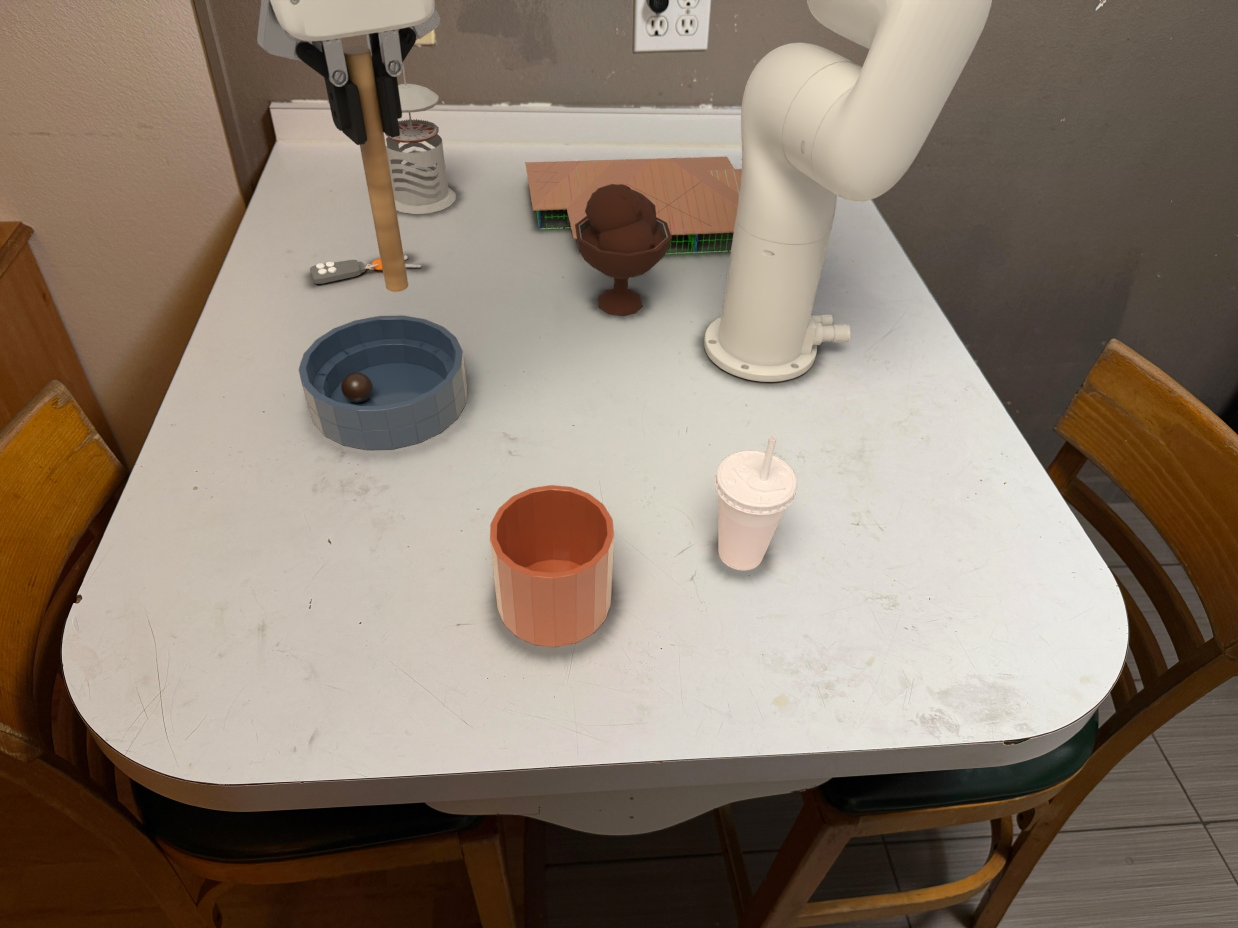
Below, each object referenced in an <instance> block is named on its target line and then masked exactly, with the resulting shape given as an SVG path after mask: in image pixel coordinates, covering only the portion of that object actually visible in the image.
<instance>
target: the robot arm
mask: <svg viewBox="0 0 1238 928" xmlns="http://www.w3.org/2000/svg"><path fill="white" fill-rule="evenodd" d="M992 3H993V0H806V4H807V7H808V10H809V12H810V13H811V15H812V16H813V17H814V18H815V20H816V21H817V22H818V23H819V24H821V25H822V26H824V27H825V28H826V29H828V30H830V31H832V32H833V33H835V34H836V35H839V36H841V37H843V38H845V39H847V40H849V41H851V42H853V43H855V44H857V45H859V46H861V47H864V48H865V49H867V50H868V52H867V55H866V58H865V60H864V62H863V65H860V64H859V63H856V62H854V61H852V60H850V59H848V58H847V57H844V56H843V55H841V54H838V53H836V52H834V51H832V50H830V49H828V48H827V47H823V46H820V45H817V44H815V43H808V42H789V43H786V44H783V45H781V46H778V47H776V48H774V49H772V50H771V51H769V52H768V53H767V54H765V55H764V56H763V57H762V58H761V59H760V60H759V61H758V62H757V63H756V65H755V67H754V68H753V69H752V71H751V73H750V75H749V76H748V79H747V81H746V84H745V88H744V90H743V95H742V100H741V106H740V107H741V108H740V137H741V169H742V173H741V185H740V193H739V201H738V208H737V215H736V220H735V227H734V233H732V239H731V240H732V241H731V247H730V255H729V262H728V269H727V275H726V283H725V289H724V296H723V303H722V310H721V316H719V317H718V318H715V319H714V320H713V321H711V322H710V323H709V324H708V326H707V327H706V330H705V333H704V338H703V339H704V340H703V346H704V351H705V353H706V355H707V357H708V358H709V359H710V360H711V361H712V363H714V364H715V365H716V366H717V367H718V368H720V369H722V370H723V371H725V372H726V373H728V374H730V375H733V376H735V377H737V378H740V379H744V380H747V381H752V382H753V381H754V382H759V383H760V382H762V383H777V382H778V383H779V382H785V381H789V380H793V379H795V378H798V377H800V376H801V375H804V374H805V373H807V372H808V371H809V370H810V369H811V368H812V367H813V365H814V363H815V361H816V357H817V353H818V346H820V345H822V343H823V342H831V343H848V342H849V341H850V339H851V327H850V325H849V324H848V323H847V324H846V323H843V324H833V322H834V317H833V315H832V314H816V315H815V314H813V313H812V312H813V308H814V304H815V299H816V296H817V291H818V287H819V283H820V278H821V274H822V271H823V270H822V269H823V266H824V262H825V261H824V260H825V258H826V257H825V256H826V253H827V249H828V244H829V240H830V235H831V232H832V228H833V224H834V219H835V215H836V209H837V197H840V198H842V199H844V200H847V201H851V202H867V201H871V200H874V199H876V198H879V197H880V196H883V195H884V194H886V193H887V192H888V191H890V190H891V189H892V188H893V187H894V186H895V185H896V184H897V183H898V182H899V181H900V180H901V179H902V178H903V176H904V175H905V174H906V173H907V172H908V170H909V169H910V167H911V165H913V163H914V161H915V159H916V158H917V156H918V154H919V153H920V152H921V149H922V147H923V146H924V144H925V142H926V140H927V138H928V137H929V135H930V133H931V131H932V129H933V127H934V125H935V123H936V122H937V120H938V118H939V116H940V114H941V112H942V110H943V108H944V106H945V104H946V103H947V100H948V98H949V97H950V95H951V93H952V91H953V89H954V87H955V85H956V83H957V82H958V80H959V78H960V76H961V74H962V72H963V70H964V68H965V66H966V64H967V63H968V61H969V59H970V57H971V55H972V54H973V52H974V50H975V47H976V46H977V42H978V41H979V39H980V37H981V35H982V32H983V30H984V28H985V25H986V24H987V21H988V19H989V15H990V11H991V8H992ZM259 10H260V11H259V19H258V26H257V35H256V36H257V37H256V40H257V41H256V42H257V44H258V46H259V47H260V48H261V49H262V50H263V51H265V52H266V53H267V54H268V55H269V54H270V55H273V56H277V57H281V58H284V59H289V60H292V61H293V60H294V61H300V62H303V63H304V64H305V65H307V66H308V67H309V68H310V69H312V70H314V71H315V73H318V74H319V75H320V76H321V77H323V78H324V83H325V88H326V94H327V98H328V103H329V109H330V114H331V118H332V121H333V124H334V126H335V128H336V129H337V130H338V131H340V132H342V133H343V134H344V135H345V136H346V137H347V138H348V139H350V141H352V142H353V143H354V144H355V145H356V146H360V145H361V144H365V141H367V135H366V129H365V123H364V117H363V112H362V106H361V100H360V95H359V89H358V87H357V85H356V84H354V83H353V82H352V81H351V80H350V75H349V73H348V72H347V67H346V62H345V57H344V52H343V50H344V48H343V47H344V46H343V43H342V39H344V38H351V37H357V36H363V35H365V36H366V45H367V48H369V49H370V51H371V57H372V63H373V69H374V76H375V82H376V88H377V94H378V100H379V106H380V113H381V119H382V125H383V131H384V135H386V134H387V135H388V136H391V137H392V138H393V137H398V136H400V130H399V124H398V121H399V119H402V118H403V113H402V109H401V102H400V95H399V88H398V85H399V81H398V76H400V75H401V74H402V73H403V65H402V63H403V64H404V62H405V60H406V58H407V57H408V55H409V54H410V52H411V50H412V49H413V47H414V46H415V44H416V42H417V41H418V40H421V39H422V38H424V37H426V36H427V35H428V34H430V33H432V31H434V30H435V29H437V28H438V27H439V26H440V24H441V18H440V15H439V12H438V9H437V8H436V2H435V0H260V9H259Z"/></svg>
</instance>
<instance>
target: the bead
mask: <svg viewBox="0 0 1238 928" xmlns="http://www.w3.org/2000/svg"><path fill="white" fill-rule="evenodd" d="M341 390H342V393H343V395H344V396H345V398H346V399H348V400H349V401H351V402H355V403H360V402H363V401H365V400H367V399H368V398H369V397H370V396H371V394H372V391H373V386H372V382H371V380H370V379H369V378H368V377H367V376H366V375H364V374H362V373H351V374H349V375H347V376H346V377H345V378H344V380H343V381H342V385H341Z"/></svg>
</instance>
